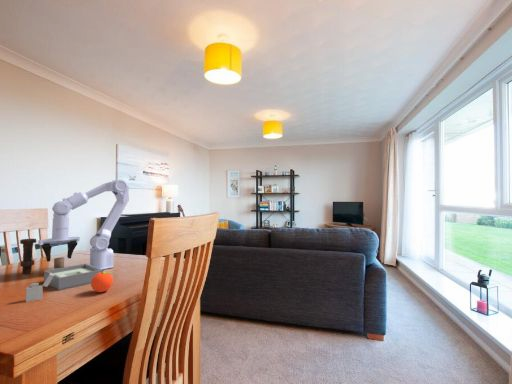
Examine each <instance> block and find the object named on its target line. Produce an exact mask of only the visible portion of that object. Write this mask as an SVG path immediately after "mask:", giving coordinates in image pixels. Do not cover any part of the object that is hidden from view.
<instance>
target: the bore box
mask: <svg viewBox="0 0 512 384" xmlns="http://www.w3.org/2000/svg"><path fill="white" fill-rule="evenodd" d="M101 272H104V269H100V268H97V267H94V266H91V265H90V264H88V263H82V264H77V265H70V266H64V267H63V268H57V269H54V268H53V269H47V270H46V269H45V270H44V271H43V283H44V282H45V280H46V278H47V277H48V275H49V273H52V274H54V277H53V278H52V280H51V282H50V283H49V285H48V286H50V287H51V288H53V289H55V290H57V291H58V292H59V291H63V290H68V289H73V288H77V287H80V286H81V287H82V286H85V285H89V284H90V285H91V281H92V279H93V277H94V276H95V275H96V274H98V273H101Z"/></svg>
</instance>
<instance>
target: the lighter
mask: <svg viewBox="0 0 512 384" xmlns="http://www.w3.org/2000/svg"><path fill="white" fill-rule="evenodd" d="M53 277H54V274H52V273H49V275H48V277H47V278H46V280H45V282H44V281H43V283H42V284H40V285H39V283H40V282H34V283H30V284H29V285H28V286H26V288H25V303H27V302H29V303H30V302H33V301H39V300H43V291H44V290H43V288H44V287H45V288H48V286H50V285H49V283H50V282H51V280H52V278H53Z"/></svg>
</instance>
